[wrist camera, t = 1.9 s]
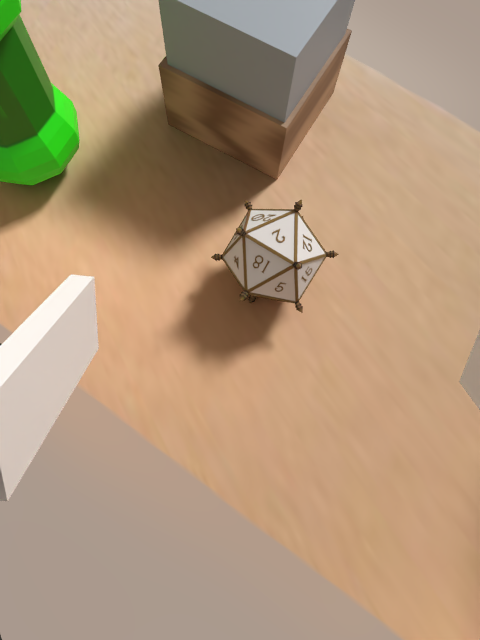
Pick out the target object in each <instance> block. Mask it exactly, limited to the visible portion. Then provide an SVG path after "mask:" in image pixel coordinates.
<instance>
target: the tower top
mask: <svg viewBox="0 0 480 640" xmlns="http://www.w3.org/2000/svg"><path fill="white" fill-rule="evenodd" d="M354 2H355V0H159V7H160V14H161V21H162V28H163V36H164V43H165V50H166V57H167V64H168V65H170V66H172V67H174V68H176V69H178V70H180V71H182V72H184V73H186V74H188V75H190V76H192V77H194V78H196V79H198V80H200V81H202V82H204V83H206V84H208V85H210V86H212V87H214V88H216V89H218V90H220V91H222V92H224V93H226V94H228V95H230V96H232V97H234V98H236V99H238V100H240V101H242V102H244V103H246V104H248V105H250V106H252V107H254V108H256V109H258V110H260V111H262V112H264V113H266V114H268V115H270V116H272V117H274V118H276V119H278V120H280V121H282V122H284V123H285V121H286V120H287V118H288V117H289V115H290V114H291V112H292V111H293V110H294V108H295V107H296V105H297V104H298V102H299V101H300V99H301V98H302V96H303V95H304V93H305V92H306V90H307V89H308V88H309V86H310V85H311V83H312V82H313V80H314V79H315V77H316V76H317V74H318V73H319V71H320V70H321V69H322V67H323V66H324V64H325V63H326V61H327V60H328V58H329V57H330V55H331V54H332V52H333V51H334V50H335V48H336V47H337V45H338V44H339V42H340V41H341V39H342V38H343V36H344V35H345V33H346V30H347V26H348V23H349V19H350V16H351V12H352V8H353V5H354Z"/></svg>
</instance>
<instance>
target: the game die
mask: <svg viewBox="0 0 480 640" xmlns="http://www.w3.org/2000/svg"><path fill="white" fill-rule="evenodd" d="M250 203H251V202H248V201H246V200H245V206H246V209H248V212H247V214H246V216H245V217H244V219H243V221H242V222H241V224H240V226H239V227H238V228H236V230H237V231H236V233H235V234H234V236H233V238H232V239H231V241H230V243H229V244H228V246H227V248H226V249H225V251H224V253H223V254H222V255H220V254H215V255H214V256H212V257H211V258H213V259H215V260H220V259H223V261H224V262H225V264H226V265H227V267H228V268H229V270H230V271H231V273H232V274H233V275H234V277H235V278H236V280H237V281H238V283H239V284H240V286H241V287H242V289H243V290H244V292H242V294H240V301H242V300H245V299H246V297H248V294H249V295H250V297H249V302H250V303H251V302H254V301H255V299H256V298H255V297H261V298H267V299H273V300H279V301H285V302H291V303H295V305H296V308H297V309H296V310H298V311H300V312H302V307H303V306H301V304H300V303H299V300H300V298H301V297H302V295H303V294H304V292H305V290H306V289H307V287H308V285H309V284H310V282H311V281H312V279H313V277H314V276H315V274H316V272H317V271H318V269H319V268H320V266H321V264H322V263H323V261H324V259H325V258H326V257H330V258H331V257H333V258H334V257H335V256H337V255H338V254H337V253H336V252H334V250H333V251H330V252H326V251H325V249H324V248H323V247H322V245H321V244H320V242H319V241H318V239H317V238H316V236H315V235H314V234H313V232H312V231H311V229H310V228H309V226H308V225H307V223H306V222H305V221H304V219H303V216H301V215H300V213H299V212H298V211H299V210H301V207H302V200H300V201H298V202H295V203H296V204H295V205H294V209H252V205H251V204H250Z"/></svg>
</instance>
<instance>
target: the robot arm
mask: <svg viewBox="0 0 480 640" xmlns="http://www.w3.org/2000/svg"><path fill="white" fill-rule="evenodd" d="M98 348H99V347H98V331H97V314H96V298H95V282H94V277H91V276H81V275H70V276H69V277H68V278H67V279H66V280H65V281H64V282H63V283H62V284H61V285H60V286H59V287H58V288H57V289H56V290H55V291H54V292H53V293H52V294H51V295H50V296H49V297H48V298H47V299H46V300H45V301H44V302H43V303H42V304H41V305H40V306H39V307H38V308H37V309H36V310H35V311H34V312H33V313H32V314H31V315H30V316H29V317H28V318H27V319H26V320H25V321H24V322H23V323H22V324H21V325H20V326H19V327H18V328H17V329H16V330H15V331H14V332H13V334H12V335H11V336H10V337H9V338H8V339H7V340H6V341H5V342H4V343H3V344H0V501H8V500H9V498H10V496H11V495H12V493H13V491H14V490H15V488H16V486H17V485H18V483H19V481H20V479H21V478H22V476H23V475H24V473H25V471H26V469H27V468H28V466H29V464H30V463H31V461H32V459H33V458H34V456H35V454H36V453H37V451H38V449H39V448H40V446H41V444H42V443H43V441H44V439H45V438H46V436H47V434H48V432H49V431H50V429H51V427H52V426H53V424H54V422H55V421H56V419H57V417H58V416H59V414H60V412H61V411H62V409H63V407H64V406H65V404H66V402H67V401H68V399H69V397H70V395H71V394H72V392H73V390H74V389H75V387H76V385H77V384H78V382H79V380H80V379H81V377H82V375H83V374H84V372H85V370H86V369H87V367H88V365H89V364H90V362H91V360H92V359H93V357H94V355H95V354H96V352H97V350H98ZM459 382H460V384H461V385H462V386H463V388H464V389H465V390H466V392H467V393H468V395H469V396H470V397H471V399H472V400H473V402H474V403H475V404H476V406H477V407H478V408H479V410H480V330H479V333H478V336H477V338H476V341H475V343H474V346H473V348H472V351H471V353H470V356H469V358H468V361H467V363H466V366H465V368H464V371H463V374H462V376H461V379H460V381H459ZM0 640H2V639H1V635H0Z"/></svg>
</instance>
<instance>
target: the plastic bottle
mask: <svg viewBox="0 0 480 640" xmlns="http://www.w3.org/2000/svg"><path fill="white" fill-rule="evenodd" d="M20 12H21V0H0V181H1V182H8V183H16V184H24V185H35V184H37V183H40V182H42V181H44V180H47V179H49V178H52V177H54V176H56V175H59V174H61V173H62V171H63V170H64V169H65V167H66V166H67V164H68V163H69V161H70V160H71V159H72V157H73V156H74V154H75V153H76V151H77V150H78V148H79V132H78V123H77V113H76V110H75V108H74V105H73V103H72V101H71V100H70V99H69V98H67V97H66V96H65V95H64V94H63V93H62V92H61V91H60V90H59V89H57V88H56V87H55V86H54V85H53V84H52V83H51V82H50V80H49V78H48V76H47V73H46V71H45V69H44V67H43V65H42V63H41V60H40V58H39V56H38V54H37V52H36V50H35V47H34V45H33V43H32V41H31V39H30V37H29V34H28V32H27V30H26V28H25V26H24V24H23V21H22V19H21V17H20V15H19V14H20Z"/></svg>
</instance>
